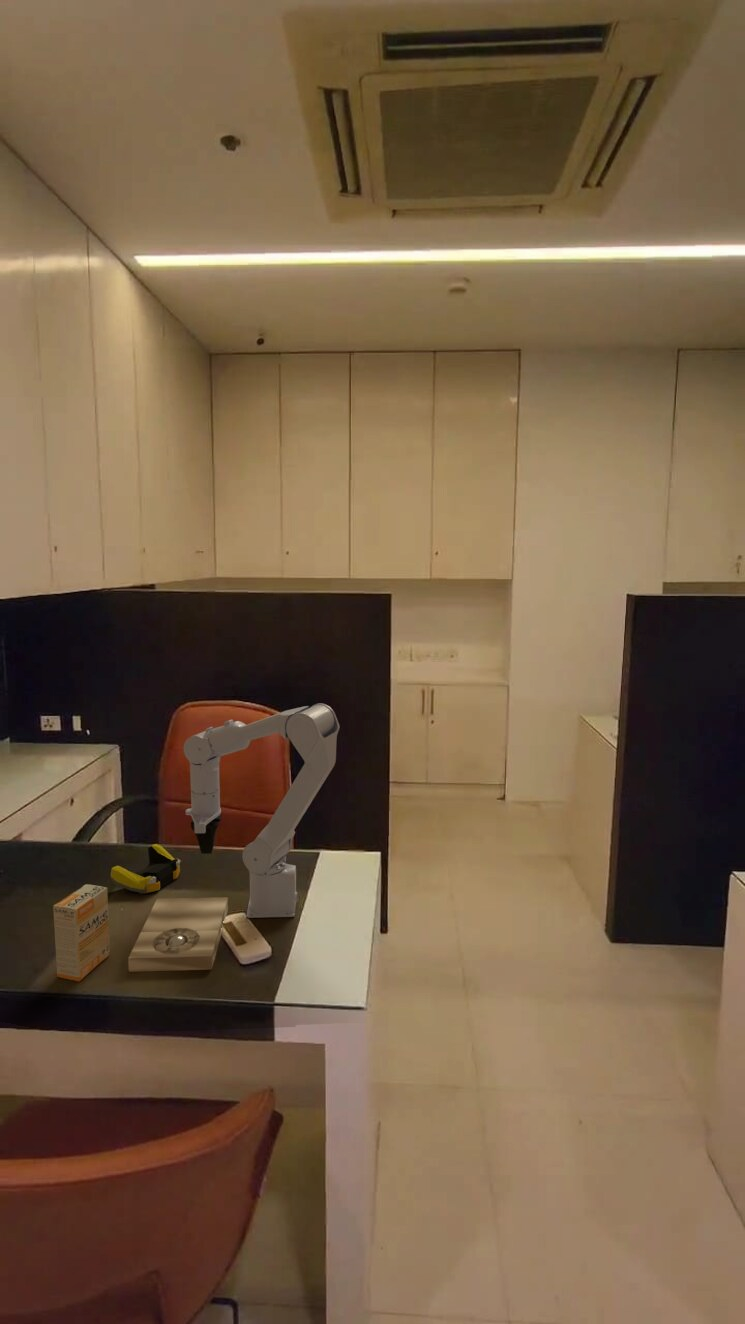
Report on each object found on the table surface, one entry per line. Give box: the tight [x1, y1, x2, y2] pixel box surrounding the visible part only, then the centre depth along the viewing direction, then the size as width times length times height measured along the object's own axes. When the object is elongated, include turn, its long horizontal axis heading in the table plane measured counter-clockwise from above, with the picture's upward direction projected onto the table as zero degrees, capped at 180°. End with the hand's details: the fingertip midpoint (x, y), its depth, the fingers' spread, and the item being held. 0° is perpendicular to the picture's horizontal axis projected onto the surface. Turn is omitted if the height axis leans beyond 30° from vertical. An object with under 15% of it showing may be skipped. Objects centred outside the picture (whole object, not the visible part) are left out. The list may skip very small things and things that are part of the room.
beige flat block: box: [127, 896, 229, 973], centre depth 126 cm, size 20×14×2 cm
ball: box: [168, 935, 186, 947], centre depth 121 cm, size 3×3×3 cm
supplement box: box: [52, 883, 111, 982], centre depth 116 cm, size 8×5×13 cm, turn 164°
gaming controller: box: [110, 843, 182, 895], centre depth 147 cm, size 15×6×10 cm
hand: (206, 852), depth 140 cm, fingers closed
